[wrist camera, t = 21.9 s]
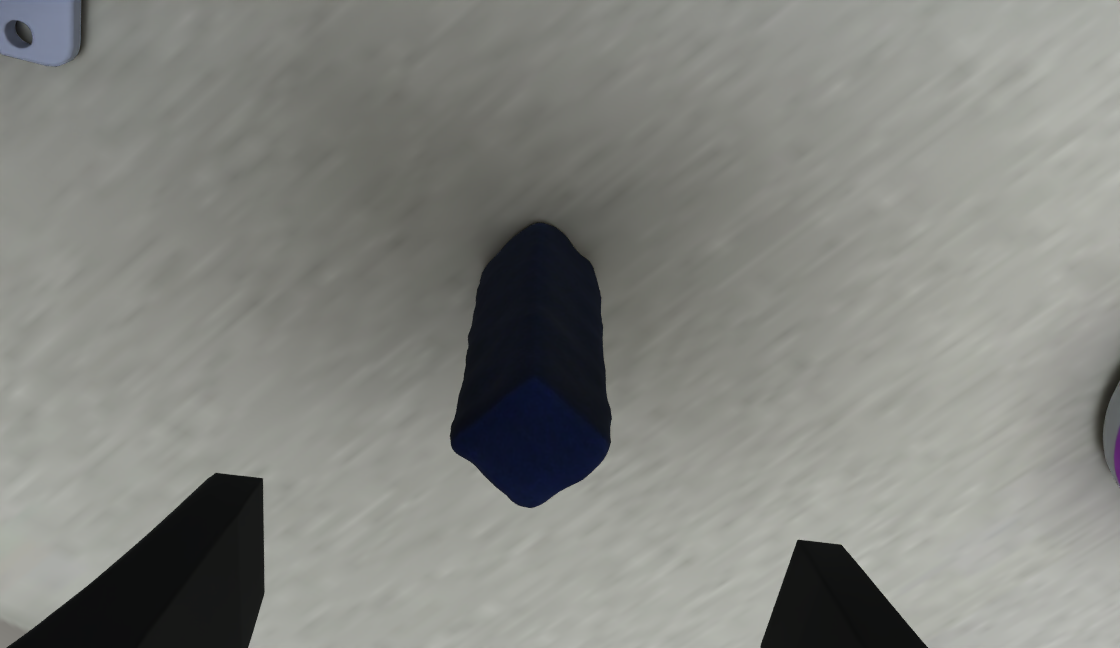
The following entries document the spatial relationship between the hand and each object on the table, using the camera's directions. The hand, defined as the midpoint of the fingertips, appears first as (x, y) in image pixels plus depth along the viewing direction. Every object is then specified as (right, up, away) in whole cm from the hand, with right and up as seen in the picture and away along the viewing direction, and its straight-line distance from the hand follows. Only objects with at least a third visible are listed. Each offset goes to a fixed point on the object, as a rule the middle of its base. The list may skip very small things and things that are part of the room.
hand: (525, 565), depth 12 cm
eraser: (0, +5, +8) cm, 10 cm away
